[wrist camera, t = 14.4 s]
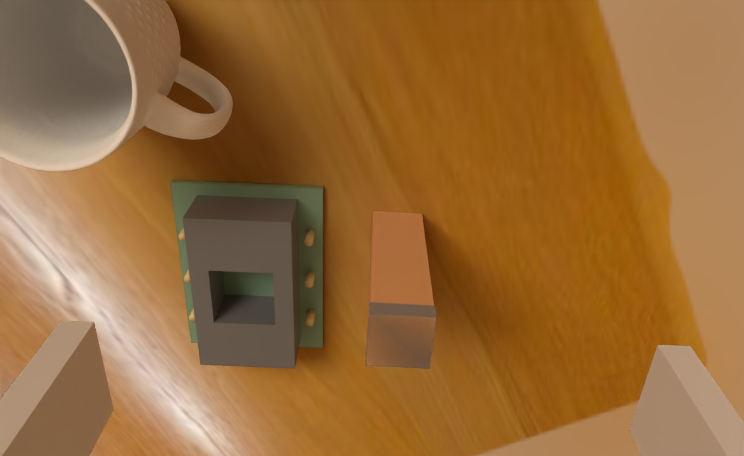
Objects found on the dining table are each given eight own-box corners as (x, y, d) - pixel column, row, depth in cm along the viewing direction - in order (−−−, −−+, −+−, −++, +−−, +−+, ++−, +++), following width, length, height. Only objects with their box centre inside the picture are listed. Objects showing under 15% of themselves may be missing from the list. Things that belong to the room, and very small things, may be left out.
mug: (279, 25, 42) (240, 70, 31) (220, 153, 47) (167, 235, 35) (69, -92, 39) (-63, -90, 27) (28, 59, 43) (-100, 115, 32)
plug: (372, 210, 49) (369, 313, 37) (422, 213, 49) (436, 317, 37) (369, 253, 51) (365, 365, 38) (418, 256, 51) (429, 369, 39)
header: (172, 179, 48) (153, 204, 44) (323, 186, 48) (317, 211, 44) (192, 339, 55) (178, 372, 51) (323, 344, 55) (318, 378, 52)
